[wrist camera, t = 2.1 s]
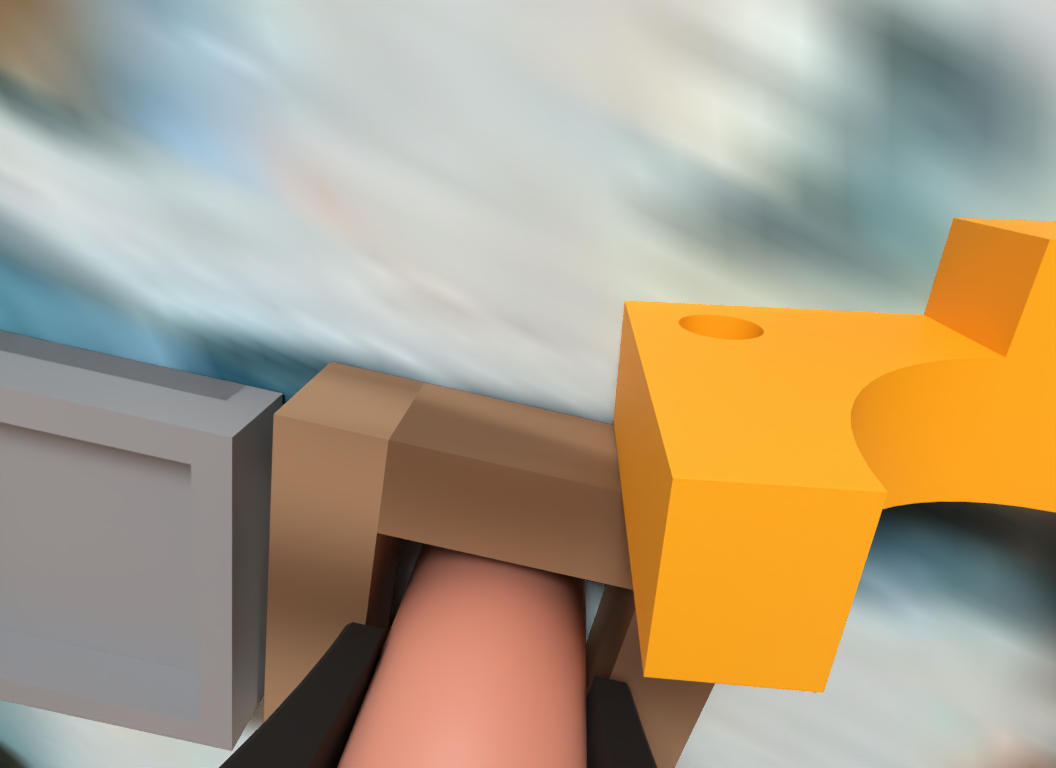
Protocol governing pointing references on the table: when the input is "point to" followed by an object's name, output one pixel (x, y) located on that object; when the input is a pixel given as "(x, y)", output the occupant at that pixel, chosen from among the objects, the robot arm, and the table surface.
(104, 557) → the tray
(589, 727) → the robot arm
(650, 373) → the pipe clamp
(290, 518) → the square frame
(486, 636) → the plug
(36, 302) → the table surface
